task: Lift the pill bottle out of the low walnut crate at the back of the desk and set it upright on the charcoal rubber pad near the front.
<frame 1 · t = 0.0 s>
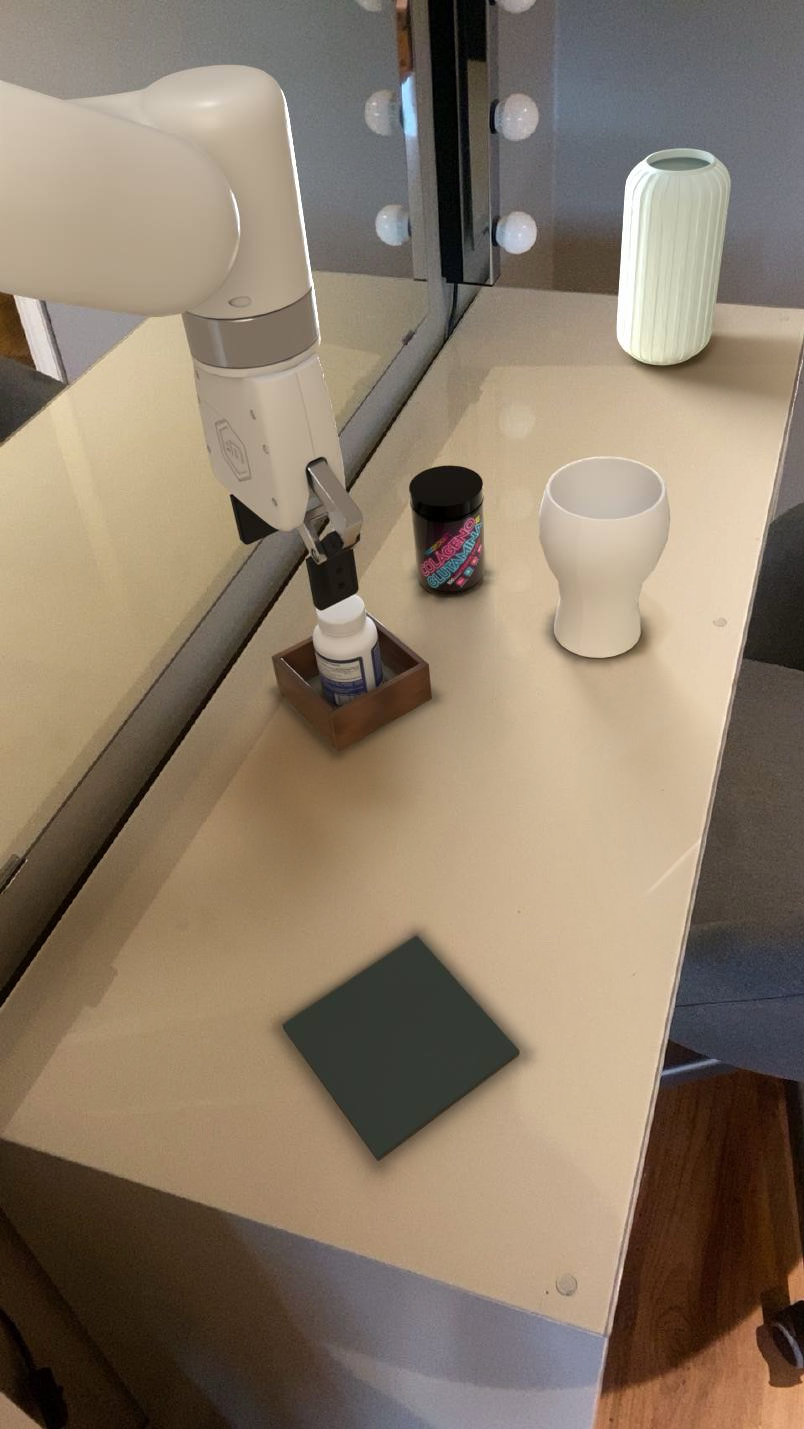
hand: (297, 566, 71), 20 cm above the table, tool pointing down, fingers open, 9 cm apart
cup: (596, 632, 95), on the table
supplement container: (451, 579, 102), on the table
pill bottle: (354, 696, 91), resting in crate
crate: (354, 694, 91), on the table
pad: (399, 1041, 68), on the table
vase: (661, 352, 131), on the table
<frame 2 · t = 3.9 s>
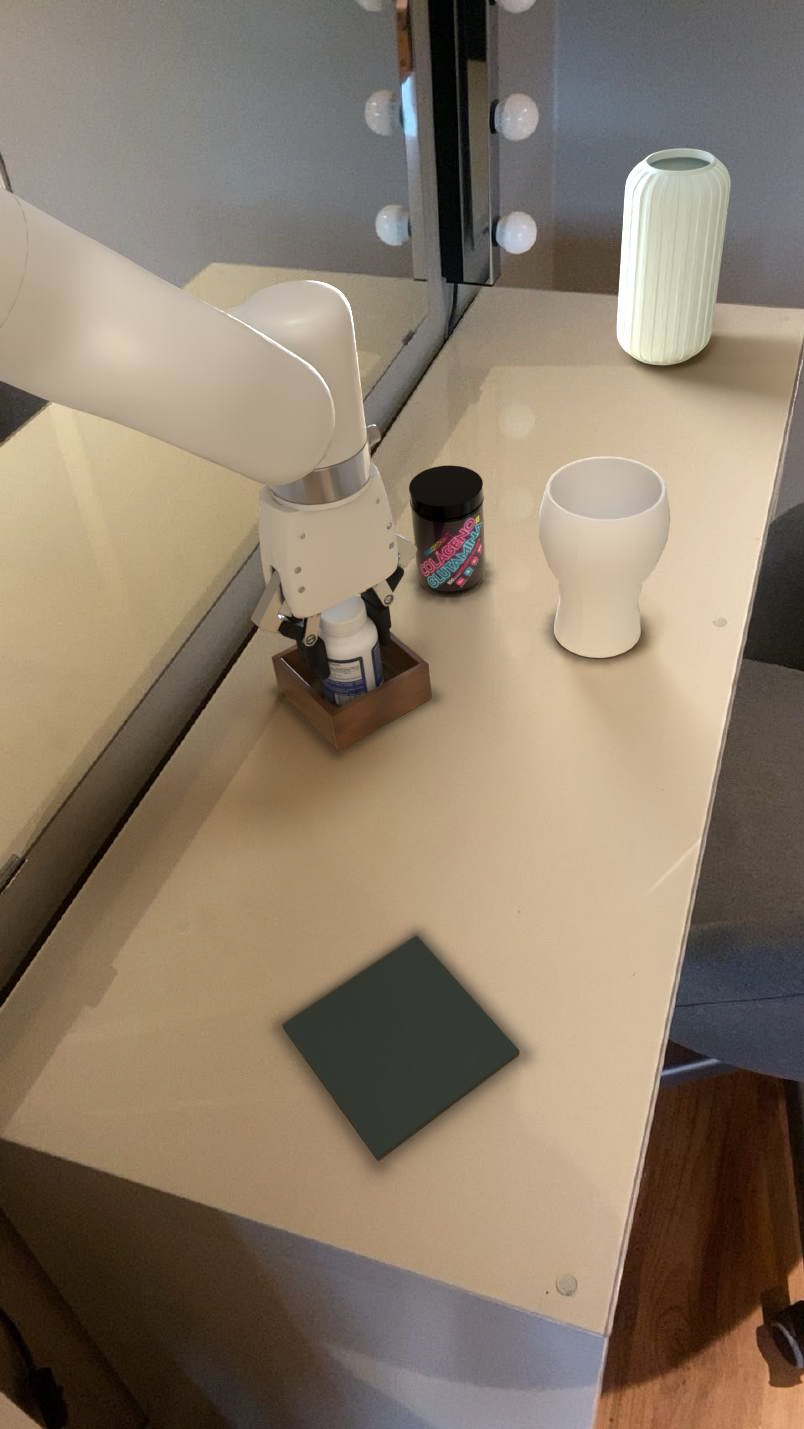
hand: (347, 652, 88), 5 cm above the table, tool pointing down, fingers closed on pill bottle, 5 cm apart
pill bottle: (354, 696, 91), resting in crate, touching gripper
everything else where it was.
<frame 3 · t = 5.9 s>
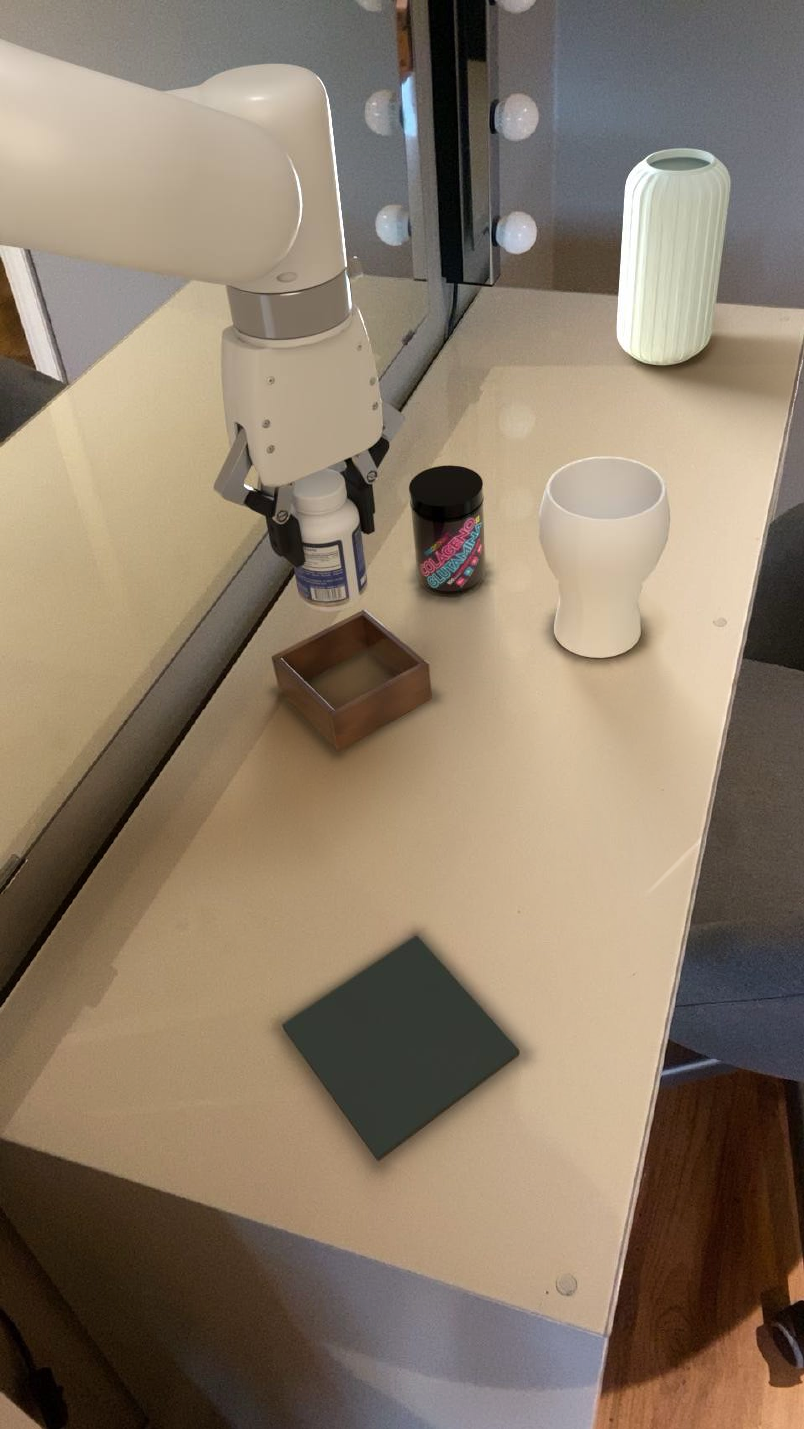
hand: (325, 539, 78), 18 cm above the table, tool pointing down, fingers closed on pill bottle, 5 cm apart
pill bottle: (333, 594, 81), point 13 cm above the table, touching gripper
everything else where it was.
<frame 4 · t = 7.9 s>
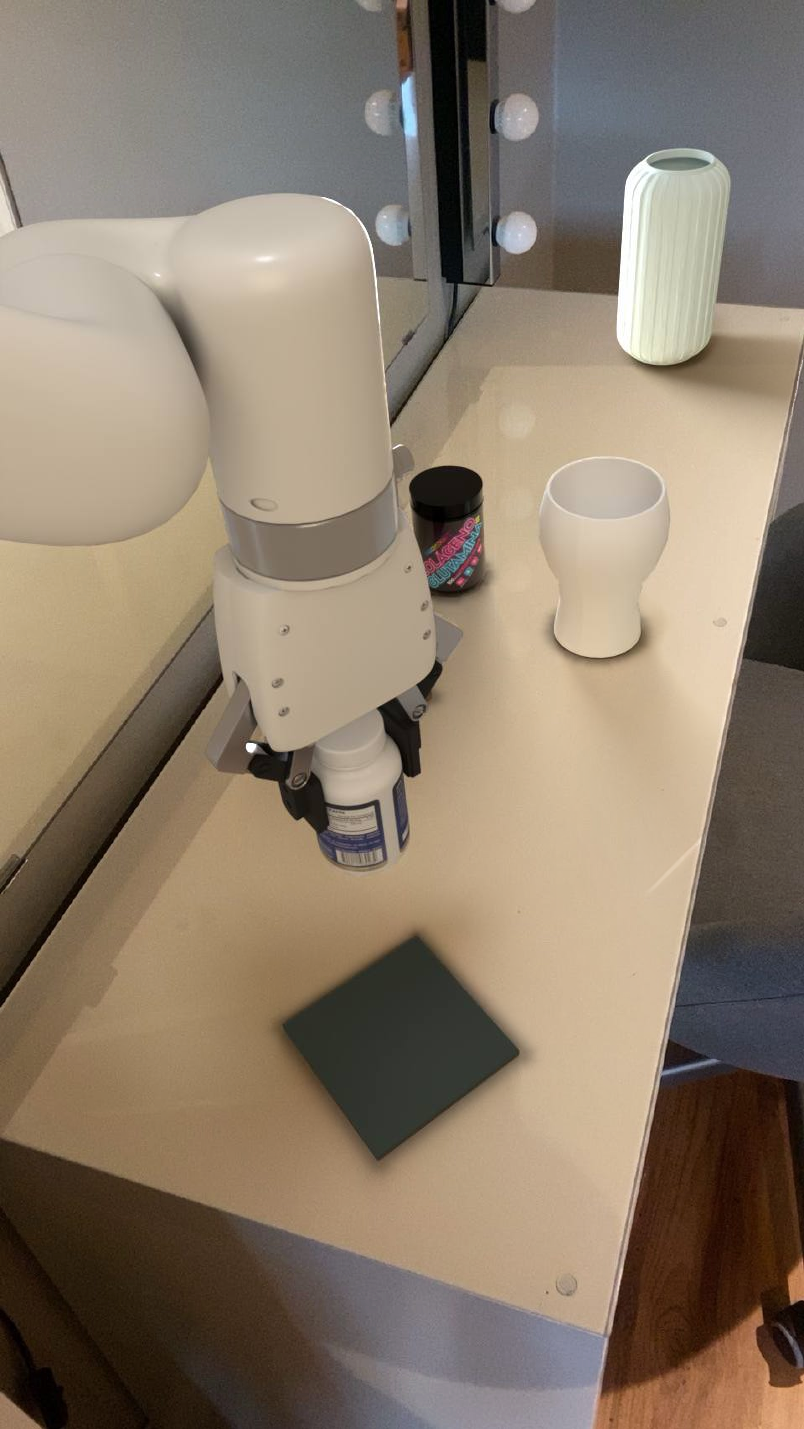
hand: (355, 786, 58), 19 cm above the table, tool pointing down, fingers closed on pill bottle, 5 cm apart
pill bottle: (364, 843, 61), point 14 cm above the table, touching gripper
everything else where it was.
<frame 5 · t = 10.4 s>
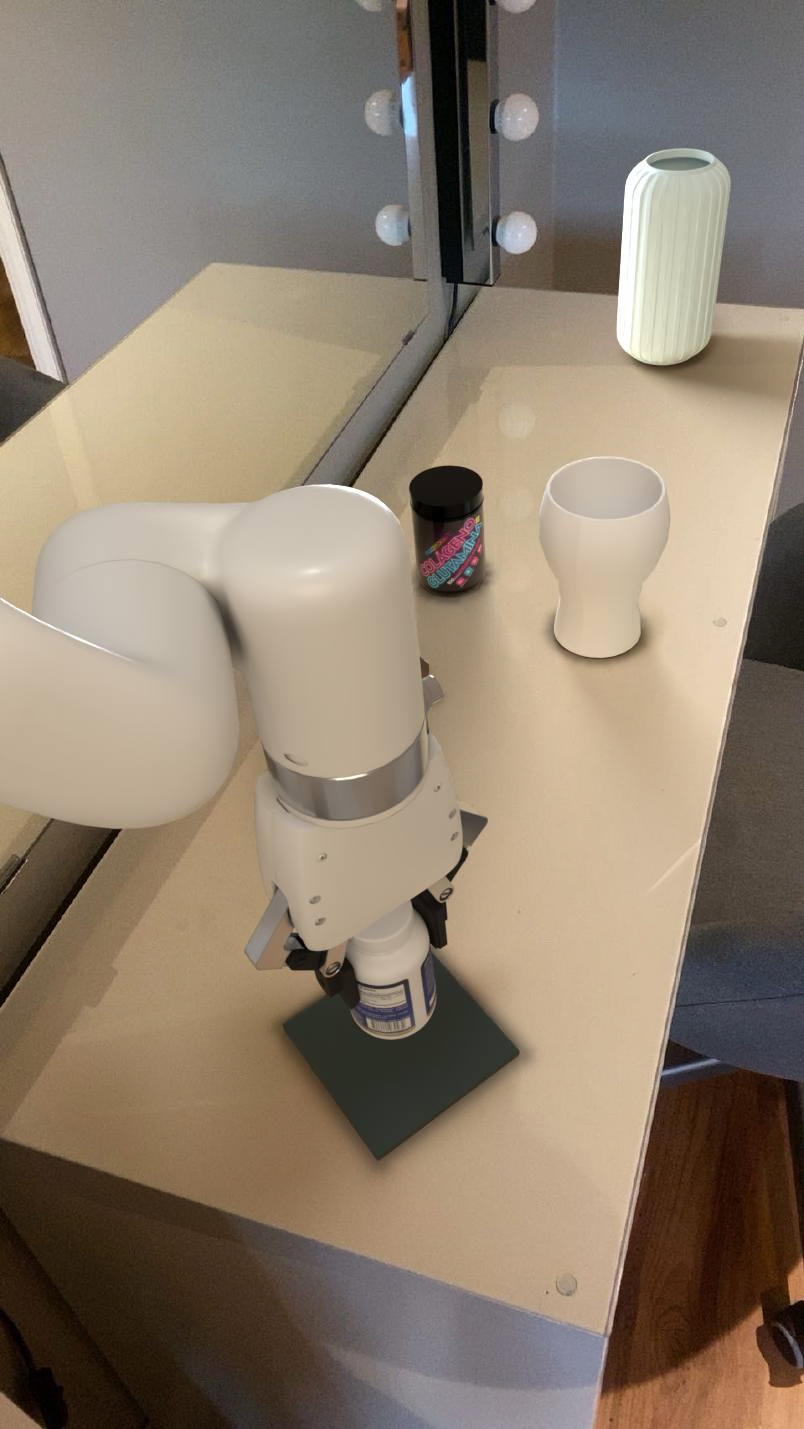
hand: (384, 958, 61), 10 cm above the table, tool pointing down, fingers closed on pill bottle, 5 cm apart
pill bottle: (393, 1003, 64), point 5 cm above the table, touching gripper
everything else where it was.
when the fingers open (5 cm above the table, at t = 12.0 s): pill bottle stays where it is, resting on pad.
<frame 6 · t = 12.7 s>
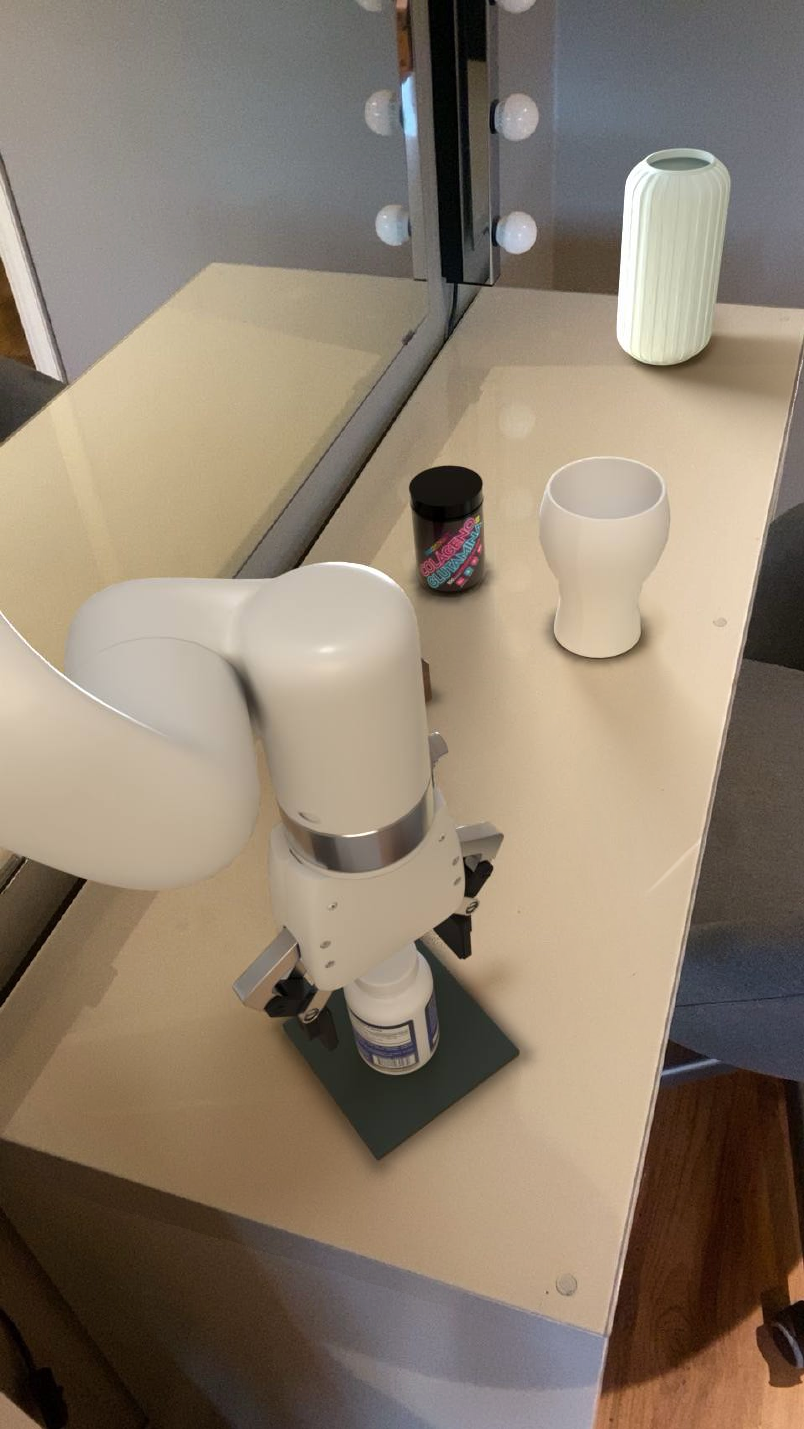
hand: (388, 985, 63), 7 cm above the table, tool pointing down, fingers open, 9 cm apart
pill bottle: (397, 1039, 67), resting on pad
everything else where it was.
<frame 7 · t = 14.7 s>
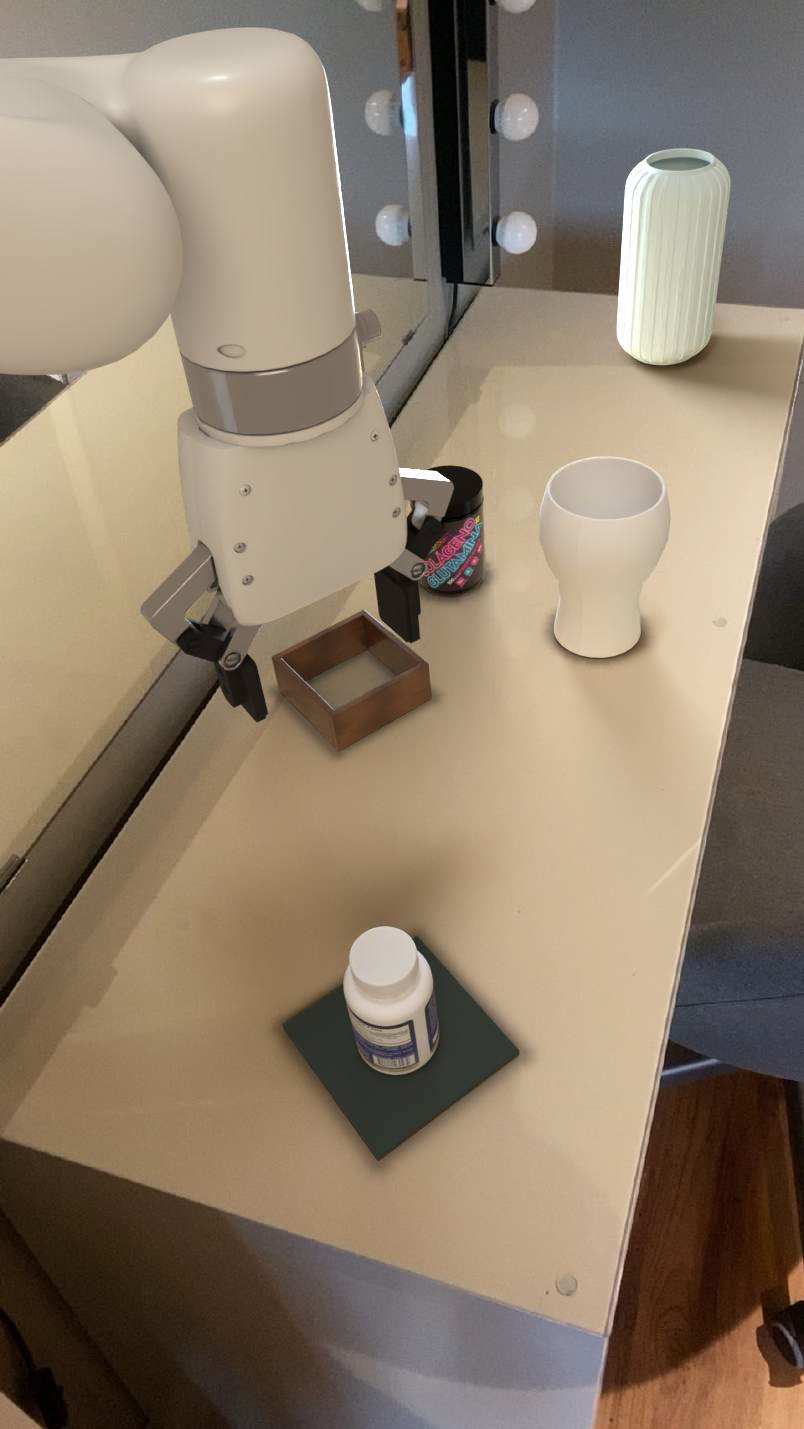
hand: (326, 666, 57), 24 cm above the table, tool pointing down, fingers open, 9 cm apart
nothing on the table moved.
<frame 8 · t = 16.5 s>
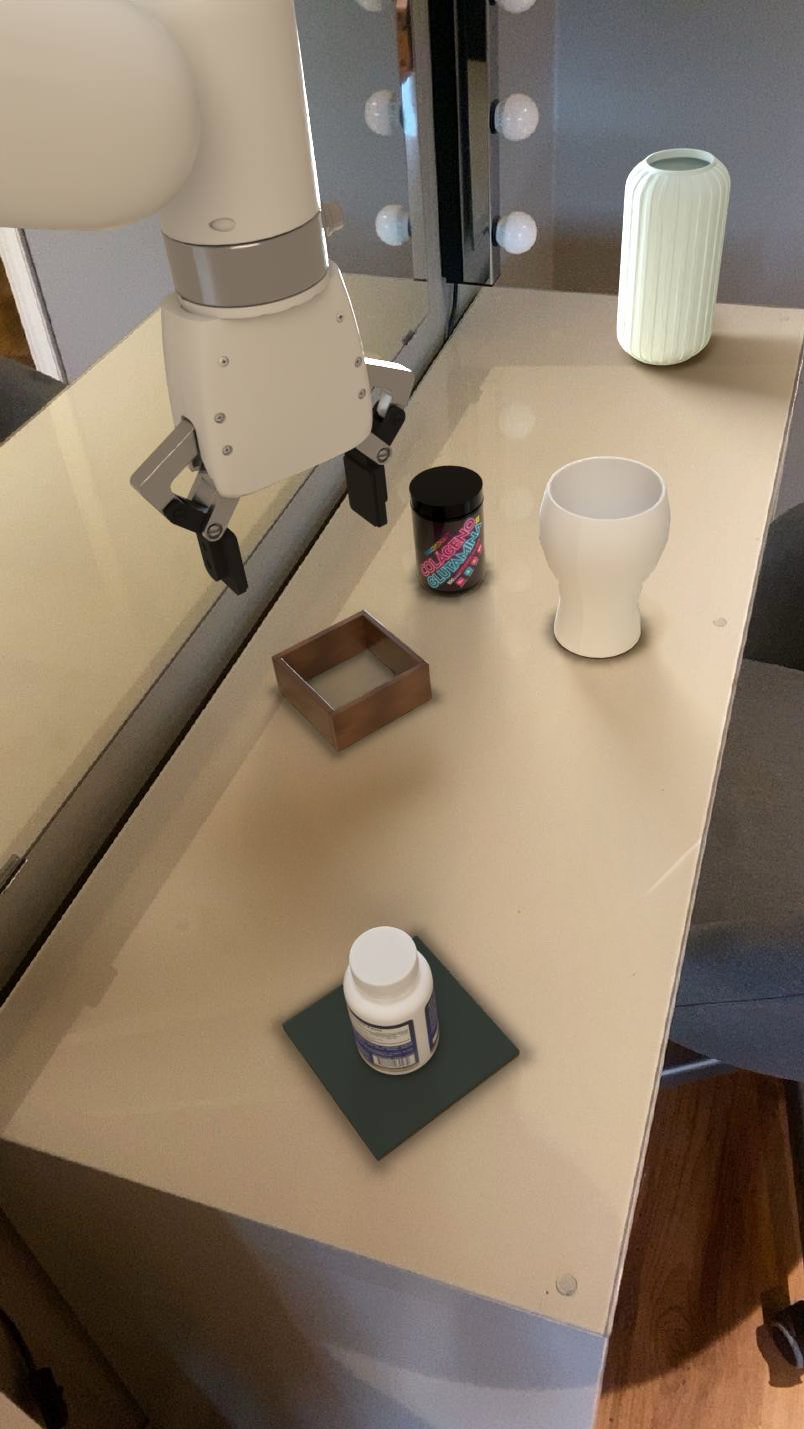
hand: (301, 549, 62), 26 cm above the table, tool pointing down, fingers open, 9 cm apart
nothing on the table moved.
at the end: pill bottle inside the target area on the pad (0.1 cm from its centre), point 0.3 cm above the pad's base; pill bottle tilted 0°; the gripper is holding nothing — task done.
